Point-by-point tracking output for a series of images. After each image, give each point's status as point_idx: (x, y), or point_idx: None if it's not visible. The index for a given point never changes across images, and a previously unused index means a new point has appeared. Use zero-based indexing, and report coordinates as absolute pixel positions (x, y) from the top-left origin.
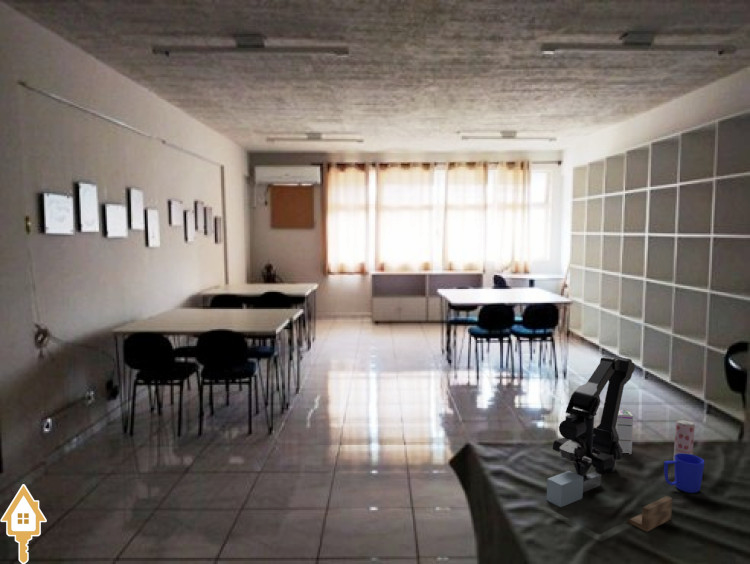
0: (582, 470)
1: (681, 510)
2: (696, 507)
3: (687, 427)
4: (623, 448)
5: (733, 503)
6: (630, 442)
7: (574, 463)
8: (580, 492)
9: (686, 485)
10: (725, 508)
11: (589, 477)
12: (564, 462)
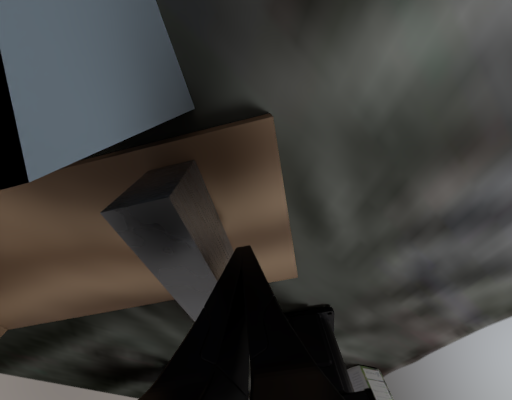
0: (198, 320)
1: (76, 346)
2: (97, 363)
3: None
4: (352, 384)
5: (120, 390)
6: None
7: (288, 352)
8: (6, 123)
9: None
10: (98, 382)
11: (187, 294)
12: (426, 280)
